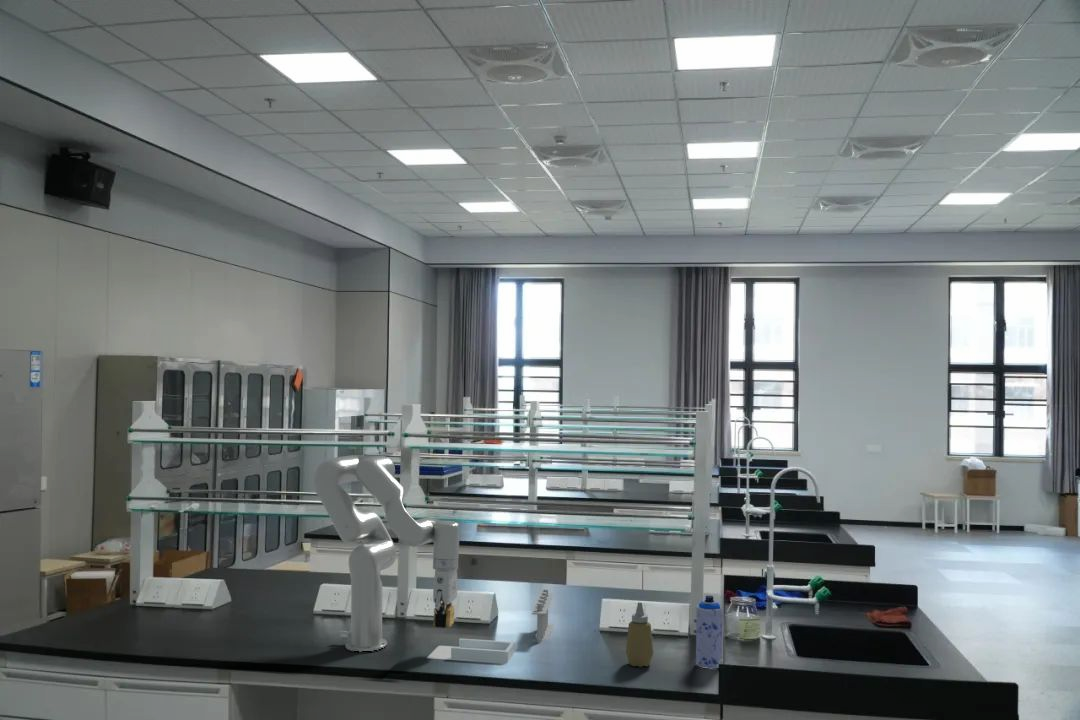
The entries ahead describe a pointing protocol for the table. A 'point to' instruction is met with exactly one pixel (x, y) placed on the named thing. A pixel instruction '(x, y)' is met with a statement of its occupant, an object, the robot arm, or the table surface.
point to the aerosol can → (708, 633)
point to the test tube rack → (543, 615)
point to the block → (447, 615)
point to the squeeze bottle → (639, 639)
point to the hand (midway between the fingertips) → (443, 623)
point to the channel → (476, 651)
